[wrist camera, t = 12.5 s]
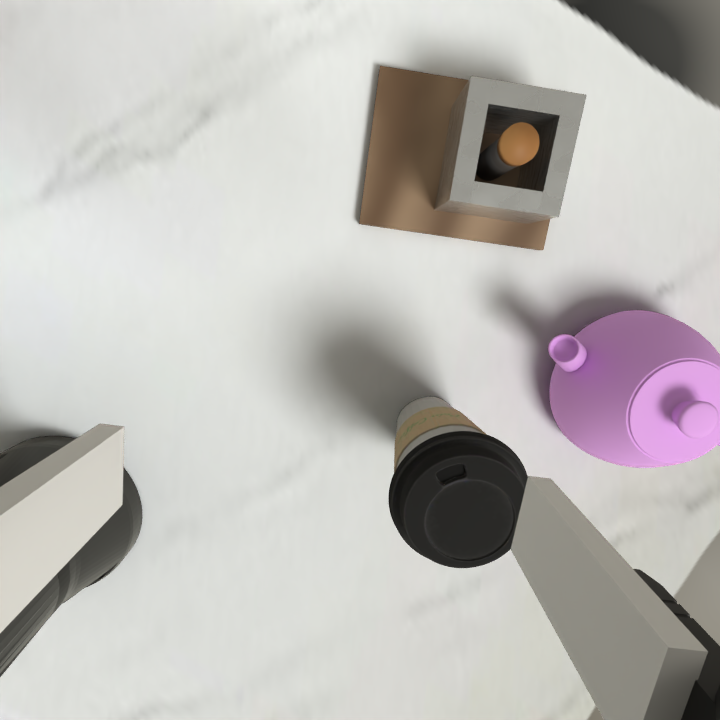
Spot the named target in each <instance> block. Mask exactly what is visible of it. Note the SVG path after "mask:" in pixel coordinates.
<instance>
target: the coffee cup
mask: <svg viewBox="0 0 720 720" xmlns="http://www.w3.org/2000/svg"><path fill="white" fill-rule="evenodd" d="M527 479H528V476H527V473H526V470H525V468H524V466H523V464H522V462H521V461H520V459H519V458H518V456H517V455H516V454H515V453H514V452H513V451H512V450H511V449H510V448H509V447H508V446H507V445H505V444H504V443H503V442H501V441H499V440H498V439H496V438H494V437H491V436H489V435H487V434H486V433H484V432H483V431H482V430H481V429H480V428H479V427H477V426H476V425H475V424H474V423H473V422H472V421H470V420H469V419H468V418H467V417H466V416H465V415H463V414H462V413H461V412H459V411H457V410H455V409H454V408H453V407H452V406H450V405H449V404H448V403H447V402H446V401H444V400H442V399H440V398H437V397H423V398H419V399H416V400H414V401H412V402H411V403H409V404H408V405H406V406H405V407H404V408H403V410H402V411H401V412H400V414H399V416H398V420H397V435H396V438H395V458H394V475H393V478H392V481H391V484H390V489H389V508H390V513H391V516H392V519H393V522H394V524H395V526H396V528H397V530H398V532H399V533H400V535H401V536H402V538H403V539H404V540H405V542H406V543H407V544H408V545H409V546H410V547H411V548H412V549H414V550H415V551H416V552H418V553H419V554H421V555H423V556H424V557H426V558H429V559H430V560H432V561H434V562H436V563H438V564H441V565H444V566H448V567H454V568H471V567H477V566H481V565H485V564H487V563H490V562H492V561H494V560H496V559H498V558H500V557H501V556H503V555H504V554H505V553H506V552H508V551H509V550H510V549H511V546H512V542H513V537H514V533H515V529H516V525H517V521H518V517H519V512H520V508H521V504H522V500H523V496H524V491H525V487H526V483H527Z"/></svg>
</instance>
